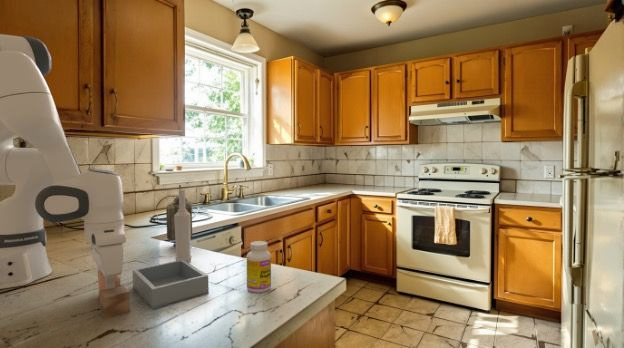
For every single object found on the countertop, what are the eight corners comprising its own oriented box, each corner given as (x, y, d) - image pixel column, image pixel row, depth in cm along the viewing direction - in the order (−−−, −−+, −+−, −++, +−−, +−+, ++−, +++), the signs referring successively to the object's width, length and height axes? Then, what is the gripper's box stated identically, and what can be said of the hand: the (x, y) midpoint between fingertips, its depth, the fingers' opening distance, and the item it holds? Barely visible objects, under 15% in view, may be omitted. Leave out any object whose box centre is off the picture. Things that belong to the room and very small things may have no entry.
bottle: (175, 260, 118) (173, 189, 117) (190, 258, 120) (189, 188, 119) (175, 265, 113) (173, 191, 112) (191, 263, 115) (190, 190, 114)
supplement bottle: (260, 295, 89) (259, 247, 88) (241, 290, 93) (241, 244, 92) (276, 287, 95) (275, 242, 94) (258, 282, 98) (257, 238, 97)
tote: (153, 309, 81) (152, 289, 81) (133, 287, 94) (132, 269, 94) (208, 293, 90) (208, 275, 90) (183, 275, 104) (182, 259, 103)
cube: (105, 319, 77) (104, 297, 76) (100, 311, 80) (100, 291, 80) (129, 312, 80) (129, 291, 80) (124, 305, 84) (123, 285, 83)
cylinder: (100, 301, 85) (99, 274, 85) (97, 295, 89) (96, 269, 89) (122, 296, 89) (122, 270, 88) (118, 290, 92) (117, 265, 92)
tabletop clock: (192, 250, 130) (191, 186, 129) (167, 252, 127) (165, 186, 126) (192, 241, 144) (191, 183, 142) (169, 243, 141) (167, 183, 139)
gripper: (85, 227, 93) (86, 276, 94) (96, 241, 77) (98, 300, 78) (111, 224, 97) (112, 271, 98) (127, 236, 81) (129, 293, 82)
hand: (106, 284), depth 88 cm, fingers open, 8 cm apart
